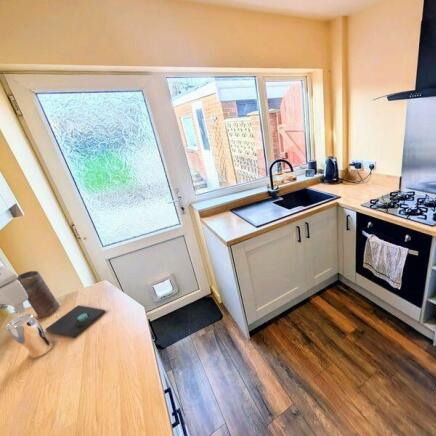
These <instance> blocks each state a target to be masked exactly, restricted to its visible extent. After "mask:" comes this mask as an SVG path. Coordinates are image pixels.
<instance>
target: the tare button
mask: <svg viewBox="0 0 436 436" xmlns="http://www.w3.org/2000/svg"><path fill="white" fill-rule="evenodd" d="M87 318H88V315H87V314H86V313H84V314H81V315H80V316H79V317H78V320H79V322H82V321H84V320H86V319H87Z"/></svg>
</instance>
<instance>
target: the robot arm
mask: <svg viewBox="0 0 436 436" xmlns="http://www.w3.org/2000/svg"><path fill="white" fill-rule="evenodd" d="M18 276H19V275H18V274H17V273H16V272H15V271H12V270H10V269H8V268H7V267H6V266H5V265H4V264H3V263H2V261H1V260H0V311H3V310H5V309H7V308H8V307H9V306H11V307H13V311H14V312H15V313H16V314H19V315H20V314H22V313H24V312H26V308H25V307H24V303H25V302H26V301H28V300H27V299H28V295H27V293H26V291H25V290H24V288H23V286H22V285H21V283H20V282H19V281H18V280H16V278H18Z"/></svg>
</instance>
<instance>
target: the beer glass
mask: <svg viewBox="0 0 436 436" xmlns="http://www.w3.org/2000/svg"><path fill="white" fill-rule="evenodd" d="M5 329H6V330H7V331H8V333H9V335H10V336H11V338H13V339H14V340H15V341H16V342H17V343H18V344H20V345H21V346H22V347H24V348H25V349H26V350H27V351H28V353H29V356H30V357H31V359H32V358H33V359H36V358H39V357H41V356H44V355H45V354H47V353H48V352H50V350H51V349H52V348H53V346H54V344H53V342H52V341H50V340H49V339H48V338H47V336H46V333H45V332H44V329H43V326H42V325H41V323H40V321H39V320H38V319H37V318H36V317H35V316H34V315H33V314H32V313H29V312H28V313H24V314H21V315H19V316H16V317H15V318H13V319H11V320H10V321H8V323H7V324H6V326H5Z"/></svg>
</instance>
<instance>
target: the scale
mask: <svg viewBox="0 0 436 436" xmlns="http://www.w3.org/2000/svg"><path fill="white" fill-rule="evenodd" d="M84 313H86V314H87V315H88V318H87V319H86V320H84V321H82V322H79V320H78V317H79V316H80V315H81V314H84ZM105 314H106V311H105V309H101V308H95V307H89V306H83V305H77V306H74V308H73V309H71V310H70V311H68V312H66V313H65V314H64V315H62V316H61V317H60V318H59V319H57V320H55V321H54V322H53V323H51V324H50V325H48V327H46V328H45V329H44V330H45V331H46V332H48V333H52V334H56V335H60V336H64V337H68V338H72V339H76V338H77V337H78V336H79V335H80V334H81V333H83V332H84V331H85V330H86V329H88V328H89V327H90V326H91V325H92V324H94V323H95V322H96V321H97V320H98V319H100V318H101V317H102V316H104V315H105Z"/></svg>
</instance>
